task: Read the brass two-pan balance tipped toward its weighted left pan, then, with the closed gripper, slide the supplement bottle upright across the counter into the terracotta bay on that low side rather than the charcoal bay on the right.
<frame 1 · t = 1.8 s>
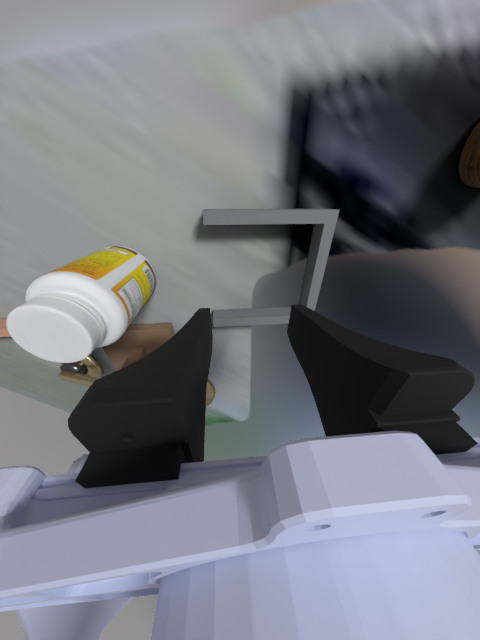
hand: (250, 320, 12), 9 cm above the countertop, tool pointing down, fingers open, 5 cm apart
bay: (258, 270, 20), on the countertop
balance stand: (143, 344, 24), on the countertop
supplement bottle: (129, 273, 19), on the countertop
balance beam: (125, 382, 19), point 6 cm above the countertop, hinge at -18.0°
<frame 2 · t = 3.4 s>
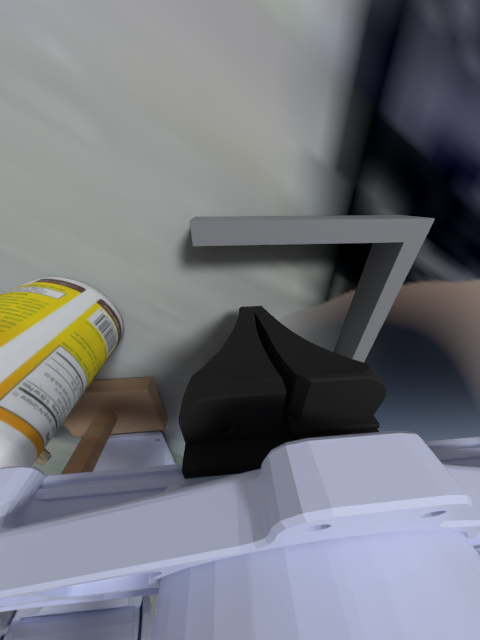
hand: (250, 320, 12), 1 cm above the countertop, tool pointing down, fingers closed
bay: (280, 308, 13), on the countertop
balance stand: (114, 402, 17), on the countertop
supplement bottle: (82, 314, 12), on the countertop
balance beam: (74, 485, 12), point 6 cm above the countertop, hinge at -18.0°
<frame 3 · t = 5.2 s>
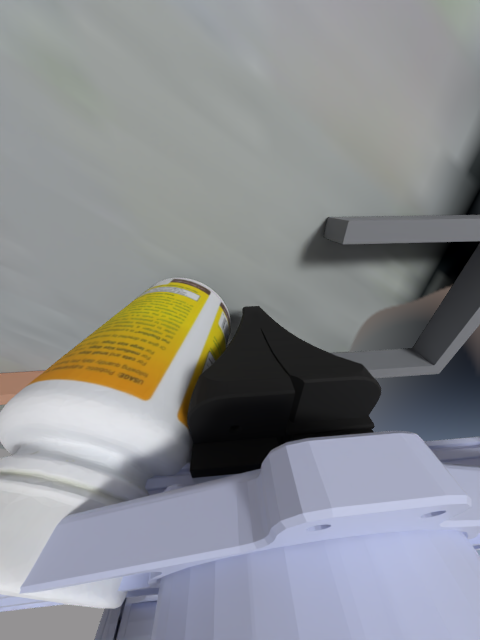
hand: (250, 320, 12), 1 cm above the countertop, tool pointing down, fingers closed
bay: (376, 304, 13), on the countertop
supplement bottle: (191, 314, 12), on the countertop, touching gripper
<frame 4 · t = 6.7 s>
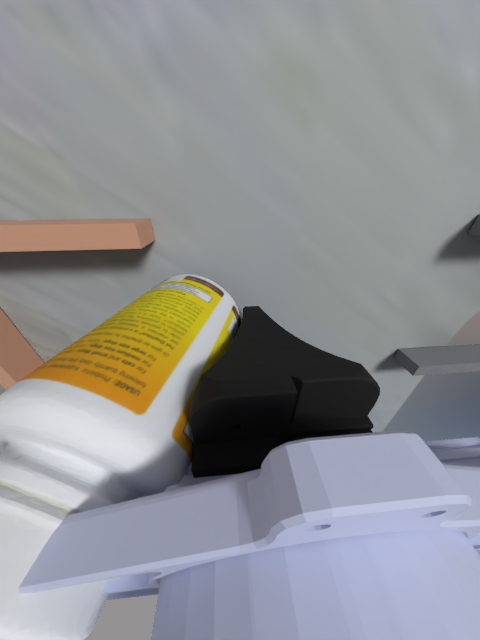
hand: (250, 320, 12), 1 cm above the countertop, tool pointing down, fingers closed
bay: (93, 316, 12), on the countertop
supplement bottle: (201, 312, 12), point 1 cm above the countertop, touching gripper
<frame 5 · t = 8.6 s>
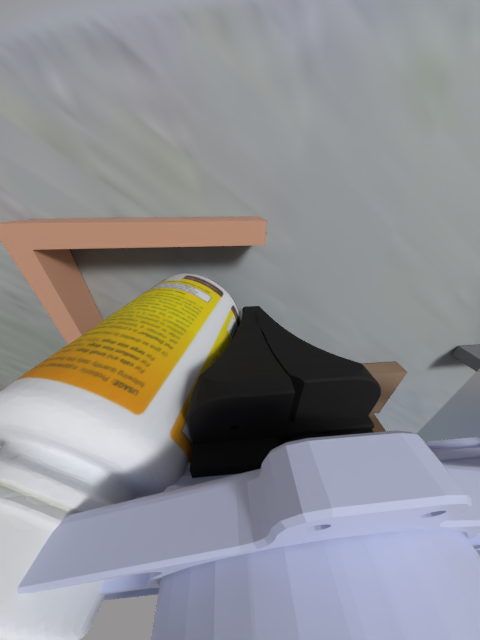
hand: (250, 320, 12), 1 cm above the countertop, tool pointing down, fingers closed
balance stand: (343, 386, 18), on the countertop
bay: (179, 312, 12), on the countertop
supplement bottle: (200, 312, 12), point 1 cm above the countertop, touching gripper
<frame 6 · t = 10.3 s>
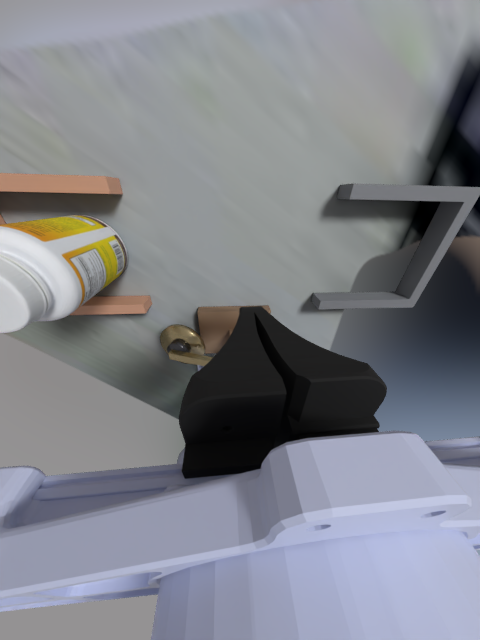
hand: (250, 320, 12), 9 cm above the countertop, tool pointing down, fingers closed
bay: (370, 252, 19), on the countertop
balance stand: (234, 327, 23), on the countertop
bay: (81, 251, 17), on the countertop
supplement bottle: (99, 248, 17), on the countertop
balance beam: (239, 362, 18), point 6 cm above the countertop, hinge at -18.0°
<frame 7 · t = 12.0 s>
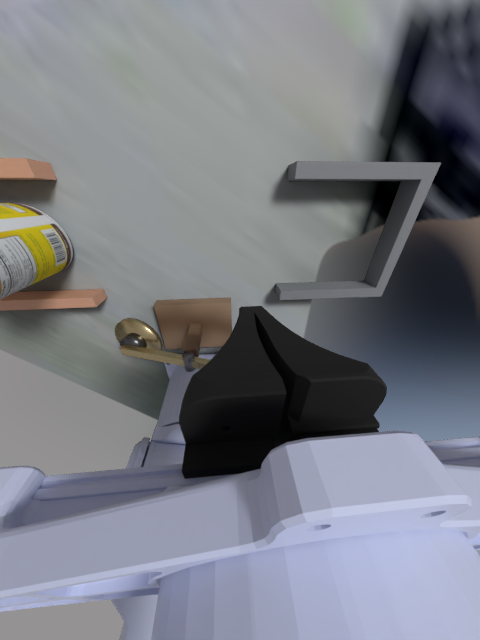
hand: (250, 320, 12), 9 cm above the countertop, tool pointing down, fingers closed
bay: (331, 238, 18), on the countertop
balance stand: (197, 321, 22), on the countertop
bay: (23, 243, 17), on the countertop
supplement bottle: (42, 239, 17), on the countertop
balance beam: (192, 356, 17), point 6 cm above the countertop, hinge at -18.0°
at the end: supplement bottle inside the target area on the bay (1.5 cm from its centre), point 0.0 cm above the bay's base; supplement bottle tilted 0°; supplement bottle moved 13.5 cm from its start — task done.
